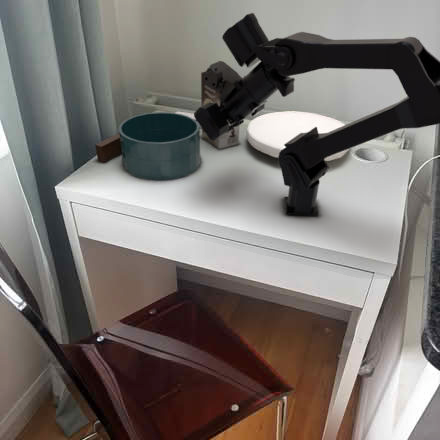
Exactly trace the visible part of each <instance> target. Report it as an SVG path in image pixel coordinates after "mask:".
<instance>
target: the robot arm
mask: <svg viewBox="0 0 440 440" xmlns="http://www.w3.org/2000/svg"><path fill="white" fill-rule="evenodd" d="M221 39H222V40H223V42H224V44H225V46H226V47H227V48H228V50H229V52H230V53H231V55H232V56H233V58H234V60H235V61H236V63H237V64H238V66H239V67H240V68H243V67H244V66H246V68H247V69H249V68H252V67H253V66H254V65H255V66H254V67H253V68H252V69H251V70H250V71H249V72H248V73H247V74H246V75H245V76H243V77H242V76H241V75H240V74H239V73H238V71H236V70H235V69H234V68H233V67H231V65H229V64H227V62H225V61H223V60H219V61H216V62H214V63H211V64H210V65H209V67H207V69H206V70H205V71H203V72H204V73H203V75H204V83H205V84H206V85H207V86H209V87H210V88H211V89H212V90H213V89H215V90H216V91H218V92H219V93H221V95H220V96H219V97H218V98H219V99H220V106H219V105H218V104H217V102H216V103H211V102H209V103H207V104H205V105H203V106H199V108H197V109H196V111H194V112H193V113H194V117H195V118H196V121H198V123H199V124H200V126H201V127H202V128H201V130H202V129H203V130H204V132H205V133H206V134H207V136H208V137H209V139H210V140H212V141H215V140H216V139H218V138H220V137H221V136H222V135H224V134H225V133H227V132H229V131H231V130H232V129H234V128H233V127H237V126H239V125H240V126H241V125H242V124H243V123H244V122H245V119H247V118H249V117H250V116H251V117H252V118H253V117H256V116H257V115H258V114H260V112H262V111H263V110H264V109H265V105H266V103H267V102H268V99H270V98H271V97H273V95H274V94H276V93H277V92H279V93H280V95H281V97H283V98H285V97H287V96H289V95H291V94H293V93H294V92H295V81H296V79H295V77H291V76H298V75H303V74H307V73H310V72H314V71H317V70H323V69H334V70H335V69H336V70H337V69H338V70H339V69H343V70H344V69H347V70H390V71H391V70H392V72H394V74H395V75H396V76H397V78H398V81H399V82H400V84H401V86H402V88H403V91H404V92H405V94H406V97H404V98H403V99H400V101H398V102H395V103H393V104H391V105H389V106H386V107H384V108H382V109H380V110H377V111H374V112H373V113H370V114H368V115H366V116H363V117H361V118H358V119H356V120H353V121H351V122H350V123H347V124H345V125H344V126H342V127H340V128H337V129H335V130H333V131H330V132H328V133H318V130H317V127H315V128H313V129H312V130H310V131H309V132H306V133H300V134H299V135H297V136H296V137H294V138H293V139H291V140H290V141H289V142H287V143H286V144H284V146H285V148H284V149H283V150H281V151H280V153H279V157H278V158H277V163H278V166H279V168H280V171H281V174H282V180H283V184H284V186H287V187H288V193H287V196H284V198H283V201H284V203H283V204H284V212H285V214H286V215H287V216H310V217H311V216H312V217H317V216H319V208H318V204H317V198H318V192H319V187H320V179H322V177H324V176H325V175H326V174H327V172H328V171H329V168H330V166H329V164H328V163H327V161H325V160H324V159H325V158H326V157H329V156H331V155H334V154H336V153H339V152H342V151H344V150H347V149H349V148H350V149H352V148H354V147H356V146H359V145H363V144H364V143H367V142H371V141H372V140H375V139H378V138H380V137H383V136H386V135H388V134H391V133H394V132H396V131H398V130H403V129H404V130H405V129H406V130H407V129H420V128H425V127H430V126H436V125H440V60H439V59H438V58H437V57H436V56H435V55H433V54H432V53H431V52H430V51H428V49H426V47H425V46H424V44H422V42H421V41H420V39H418V38H417V37H415V36H407V37H404V38H370V39H369V38H362V39H358V38H357V39H332V38H327V37H325V36H323V35H321V34H315V33H310V32H306V31H299V32H296V33H293V34H291V35H288V36H285V37H275V38H273V39H271V40H269V38H268V36H267V35H266V33H265V31H264V30H263V28H262V26H261V25H260V23H259V20H258V18H257V16H256V15H255V13H254V12H250V13H247V14H245V16H244V17H243V18H241V19H240V20H238V21H237V22H236V23H234V24H233V25H232V26H230V27H228V28H227V29H226V30H225V31H224V33H223V35H222V37H221ZM257 63H258V64H257ZM240 126H239V127H240ZM350 149H349V150H350Z"/></svg>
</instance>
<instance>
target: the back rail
mask: <svg viewBox="0 0 440 440" xmlns="http://www.w3.org/2000/svg"><path fill="white" fill-rule="evenodd" d="M95 151H96V156H97V162H101V163H103V164H105V163H107V162H109V161H111V160H112V159H114V158H116V157H118V156H120V155H122V149H121V142H120V135H119V132H118V133H116V134H114V135H112V136H110V137H108V138H106V139H104V140H101V141H100V142H98V143H96V144H95Z"/></svg>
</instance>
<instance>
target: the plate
mask: <svg viewBox="0 0 440 440" xmlns="http://www.w3.org/2000/svg"><path fill="white" fill-rule="evenodd" d="M344 125H346V124H345V123H343V122H342V121H340V120H337V119H335V118H333V117H329V116H326V115H322V114H319V113H313V112H306V111H298V110H297V111H292V110H289V111H275V112H270V113H264V114H262V115H259V116H257V117H255V118H253V119H252V120H250V122H249V123H248V125H247V128H246V132H245V133H246V134H245V135H246V139H247V142H248V143H249V144H250V146H252V147H253V148H254V149H256V150H257V151H260V152H261V153H263V154H266V155H268V156H270V157H273V158H277V159H278V157H279V153H280V151H281V150H283V149H284V148H285V146H284V144H286V143H287V142H289V141H290V140H291V139H293V138H294V137H296V136H297V135H299V134H300V133H306V132H309V131H310V130H312V129H313V128H315V127H317V130H318V133H328V132H330V131H333V130H335V129H337V128H340V127H342V126H344ZM350 149H351V148H349V149H347V150H344V151H342V152H339V153H336V154H334V155H331V156H329V157H326V158H325V159H324V160H325V161H326V162H330V161H333V160H337V159H340V158H342V157H343V156H344V155H346V153H347V152H348V151H349V150H350Z"/></svg>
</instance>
